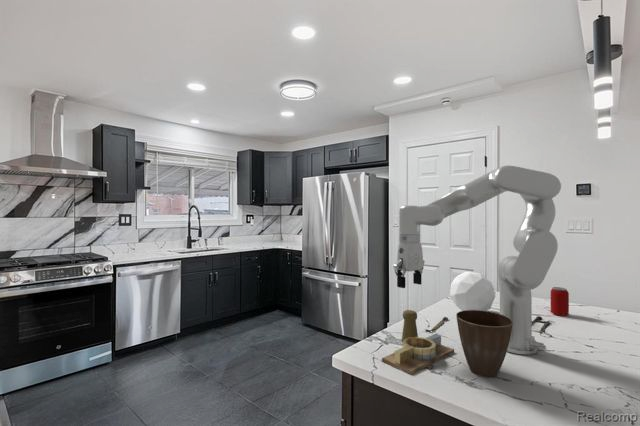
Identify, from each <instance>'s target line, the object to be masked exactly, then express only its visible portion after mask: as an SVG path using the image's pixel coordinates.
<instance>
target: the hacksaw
mask: <svg viewBox="0 0 640 426" xmlns="http://www.w3.org/2000/svg"><path fill="white" fill-rule="evenodd" d="M535 323H541V324H543V323H544V324H543V325H542V327H541V328H540V329H539V331H538V330H533V329H532V332H535V333H539V335H540V336H541V337H544V338H546V336H545V335H547V336H549V337H550V338H553V336H552V335H551V334H549V333H547V332H546V330H545V329H546V328H547V327H548V326H549V325H550V324H551V323H553V324H555V323H556V322H555V321H553V320H547V321H546V320H543V317H542V316H540V315H538V316H536V317H535V318H534V319H533V321H532V326H533V325H534V324H535ZM542 334H545V335H542Z"/></svg>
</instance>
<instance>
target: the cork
mask: <svg viewBox="0 0 640 426" xmlns="http://www.w3.org/2000/svg"><path fill="white" fill-rule="evenodd" d="M402 317H403V326H402V335H401V342H403V341H404V339H406V338H409V337H419V334H418V327H417V320H418V314H417V311H416V310H412V309H407V310H406V309H405V310H403V312H402Z"/></svg>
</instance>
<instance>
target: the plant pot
mask: <svg viewBox="0 0 640 426" xmlns="http://www.w3.org/2000/svg"><path fill="white" fill-rule="evenodd" d="M455 316H456V323H457V330H458V335H459V339H460V342H461V347H462V351H463V353H464V357H465V360H466V362H467V363H466V364H467V365H468V368H469V370H470V372H471V373H473V374H474V375H476V376H479V377H482V378H483V377H484V378H495V377H497V376H498V375H499V372H500V370H501V368H502V365H503V363H504V361H505V358H506V356H507V353H508V352H507V349H508V346H509V342H510V337H511V332H512V326H513V321H512V320H511V319H510V318H508V317H506V316H504V315H501V314H500V313H499V312H498V313H497V312H493V311H489V310H487V311H480V310H465V311H462V310H460V311H459V312H457V313H456V315H455Z"/></svg>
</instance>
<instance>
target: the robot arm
mask: <svg viewBox="0 0 640 426" xmlns="http://www.w3.org/2000/svg"><path fill="white" fill-rule="evenodd" d="M561 189H562V183H561V181H560V179H559V178H558V177H557V176H556V175H554V174H552V173H549V172H545V171H540V170H535V169H529V168H526V167H522V166H521V167H520V166H514V165H504V166H501V167H497V168H496V169H492V170H491V171H489V172H487V173H485V174H483V175H481V176H479V177H478V178H475V179H473V180H472V181H470V182H467V183H465V184H464V185H462V186H460V187H458V188H457V189H454V190H453V191H451V192H449V193H448V194H445V195H444V196H442V197H440V198H439V199H438V198H437V199H436V200H435V201H432V202H430V203H428V204H427V205H401V206H400V207H399V212H398V214H399V215H398V217H399V218H398V222H399V223H398V224H399V225H398V227H399V229H398V232H399V233H398V234H399V236H398V239H399V241H398V246H397V247H398V248H397V257H396V262H395V263H394V264H393V269H394V273H395V276H396V286H397V287H398V288H401V289H406V276H405V275H406V273H407V272H413V273H412V274H413V275H412V276H413V277H412V278H413V279H412V281H413V282H412V283H413V284H415V285H422V274H423V269H424V266H425V260H424V256H423V255H424V254H423V253H424V252H423V248H422V246H423V245H422V242H421V226H422V225H424V226H431V227H434V226H439V224H441V223H442V222H443V221H444V219H446V218H448V217H450V216H452V215H454V214H457V213H459V212H463V211H467V210H470V209H474V208H475V207H478V206H479V205H481V204H483V203H485V202H487V201H489V200H491V199H493V198H495V197H497V196H499V195H501V194H503V193H505V192H511V193H515V194H519V195H520V197H521V198H522V199H523V201H524V203H525V213H524V215H523V219H522V221H521V222H520V225H519V227H518V229H517V231H516V234H515V235H514V238H513V241H512V243H513V244H512V245H513V247H514V249H515V250H516V251H517V252H518V256H516V255H510V256H506V257H504V258H502V259H501V260H500V262H499V263H498V266H497V278H498V279H497V280H498V287H499V288H498V289H499V314H501V315H504V316H506V317H508V318H510V319H511V320H512V321H513V326H512V332H511V337H510V342H509V346H508V349H507V352H506V353H512V354H517V355H526V356H527V355H534V354H537V353H538V351H541V352H544V353H546V350H547V346H546V345H545V343H543V342H539V341H537V340H536V339H535V337H536V336H533V335H532V332H533V331H532V330H533V329H532V328H533V325H532V319H533V318H532V316H533V315H532V313H533V312H532V309H533V308H532V307H533V306H532V304H533V303H532V302H533V301H532V299H533V298H532V297H533V296H532V290H535V289H537V288H538V287H540V285H541V284H542V283H543V282H544V280H545V278H546V276H547V274H548V272H549V270H550V268H551V266H552V264H553V261H554V259H555V258H556V254H557V252H558V247H559V246H558V245H559V243H558V240H557V238H556V236H555V234H554V233H553V232H552V231H551V228H552V225H553V223H554V221H555V219H556V205H555V203H554V200H553V199H554V198H555V197H557V196H558V195H559V194H560V191H561Z"/></svg>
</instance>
